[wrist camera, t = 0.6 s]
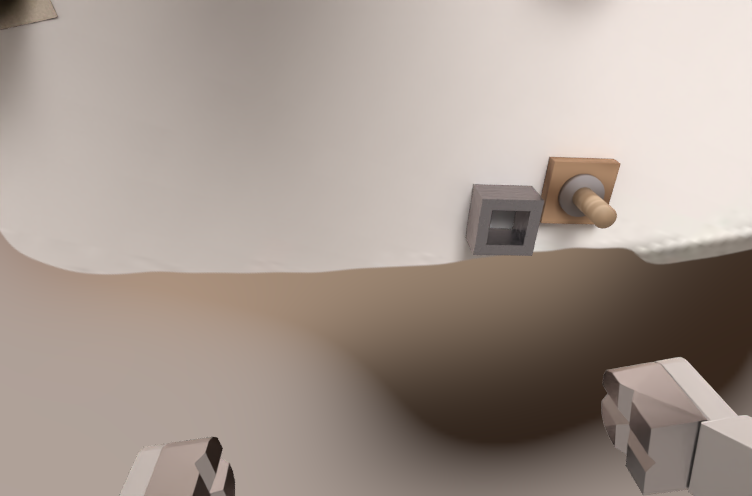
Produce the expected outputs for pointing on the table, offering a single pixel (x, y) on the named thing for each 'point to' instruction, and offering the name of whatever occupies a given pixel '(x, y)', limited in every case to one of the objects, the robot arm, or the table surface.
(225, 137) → the table surface
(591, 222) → the post block
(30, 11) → the condiment
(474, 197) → the grey square frame
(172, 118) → the table surface
